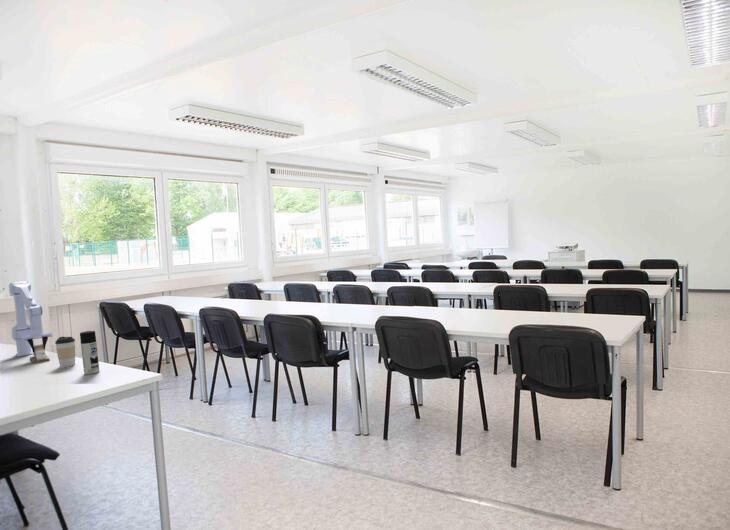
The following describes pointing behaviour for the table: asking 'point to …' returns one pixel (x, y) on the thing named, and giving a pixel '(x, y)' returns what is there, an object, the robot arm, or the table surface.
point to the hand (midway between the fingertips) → (38, 351)
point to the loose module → (36, 347)
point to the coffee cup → (66, 351)
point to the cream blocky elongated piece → (39, 356)
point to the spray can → (89, 352)
